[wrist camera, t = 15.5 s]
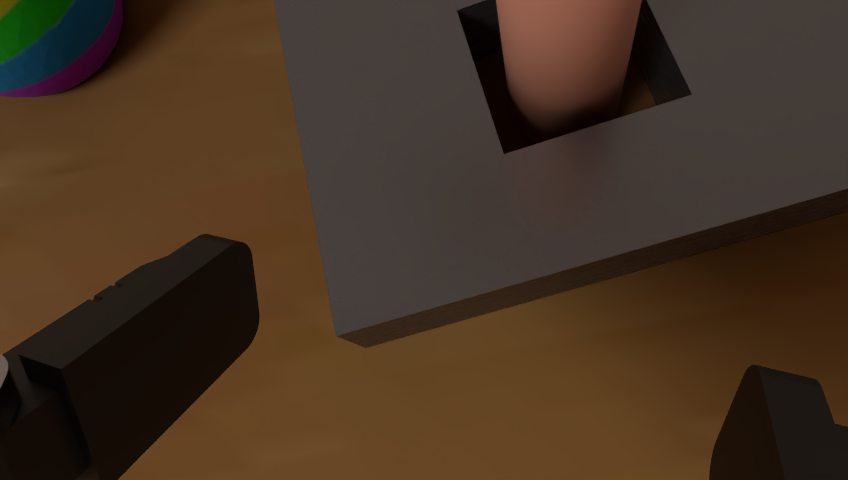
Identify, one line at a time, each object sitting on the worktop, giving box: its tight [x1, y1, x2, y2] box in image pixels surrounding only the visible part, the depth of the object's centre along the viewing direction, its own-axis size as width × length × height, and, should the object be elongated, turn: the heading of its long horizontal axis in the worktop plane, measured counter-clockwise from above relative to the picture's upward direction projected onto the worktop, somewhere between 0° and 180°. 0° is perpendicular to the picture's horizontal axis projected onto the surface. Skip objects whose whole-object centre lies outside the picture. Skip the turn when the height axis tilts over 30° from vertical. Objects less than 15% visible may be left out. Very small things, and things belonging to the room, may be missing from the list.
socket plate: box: [274, 0, 848, 348], centre depth 17 cm, size 16×12×2 cm
